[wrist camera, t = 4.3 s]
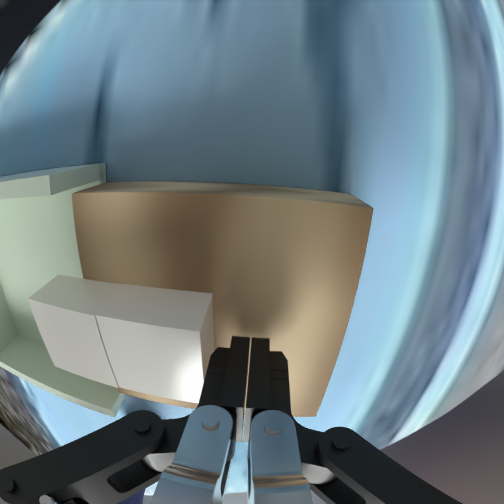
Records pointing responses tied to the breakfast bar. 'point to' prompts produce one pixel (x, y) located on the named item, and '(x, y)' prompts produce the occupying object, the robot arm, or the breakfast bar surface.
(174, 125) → the breakfast bar surface
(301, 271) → the board
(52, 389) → the tray
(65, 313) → the tile
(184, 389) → the tile
